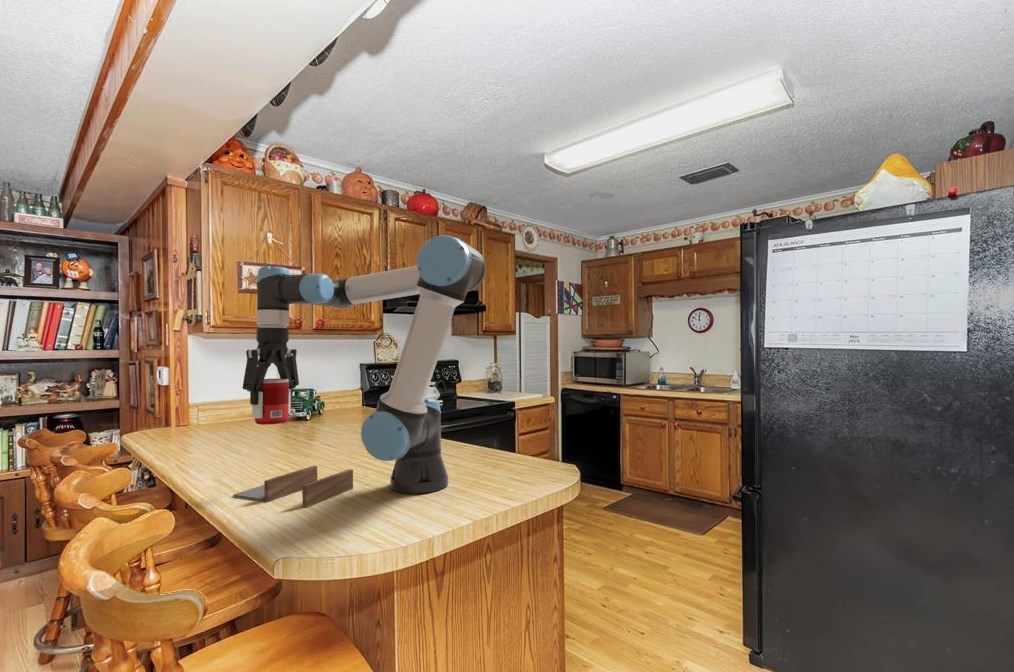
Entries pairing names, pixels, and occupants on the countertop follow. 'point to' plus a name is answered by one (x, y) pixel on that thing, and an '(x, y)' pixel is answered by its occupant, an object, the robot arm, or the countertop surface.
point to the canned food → (274, 401)
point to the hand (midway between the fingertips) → (271, 415)
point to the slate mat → (252, 494)
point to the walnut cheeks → (308, 485)
